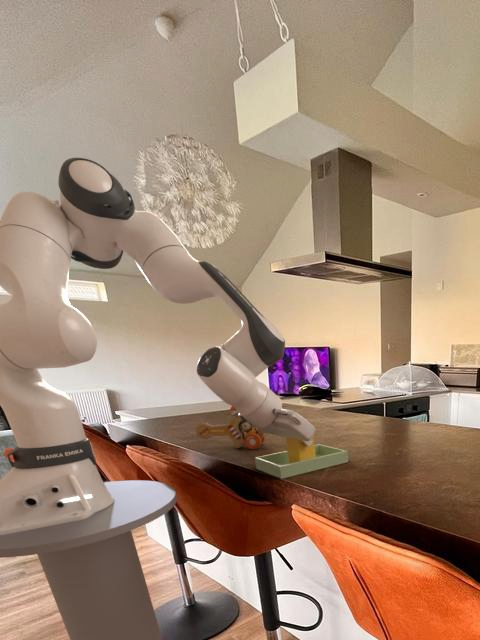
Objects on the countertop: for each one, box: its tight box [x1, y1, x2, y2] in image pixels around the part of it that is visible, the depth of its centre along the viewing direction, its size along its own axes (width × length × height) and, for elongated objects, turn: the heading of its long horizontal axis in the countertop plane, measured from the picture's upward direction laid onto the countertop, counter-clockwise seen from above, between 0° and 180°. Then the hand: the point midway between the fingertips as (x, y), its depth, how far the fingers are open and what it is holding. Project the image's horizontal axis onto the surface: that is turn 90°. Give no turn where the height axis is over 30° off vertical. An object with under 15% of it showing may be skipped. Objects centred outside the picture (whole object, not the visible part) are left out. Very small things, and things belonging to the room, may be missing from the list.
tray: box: [254, 443, 349, 480], centre depth 109 cm, size 20×13×3 cm
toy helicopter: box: [195, 406, 266, 450], centre depth 130 cm, size 8×21×14 cm, turn 94°
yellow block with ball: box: [285, 435, 316, 464], centre depth 107 cm, size 5×5×11 cm
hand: (302, 442), depth 108 cm, fingers closed on yellow block with ball, 5 cm apart
